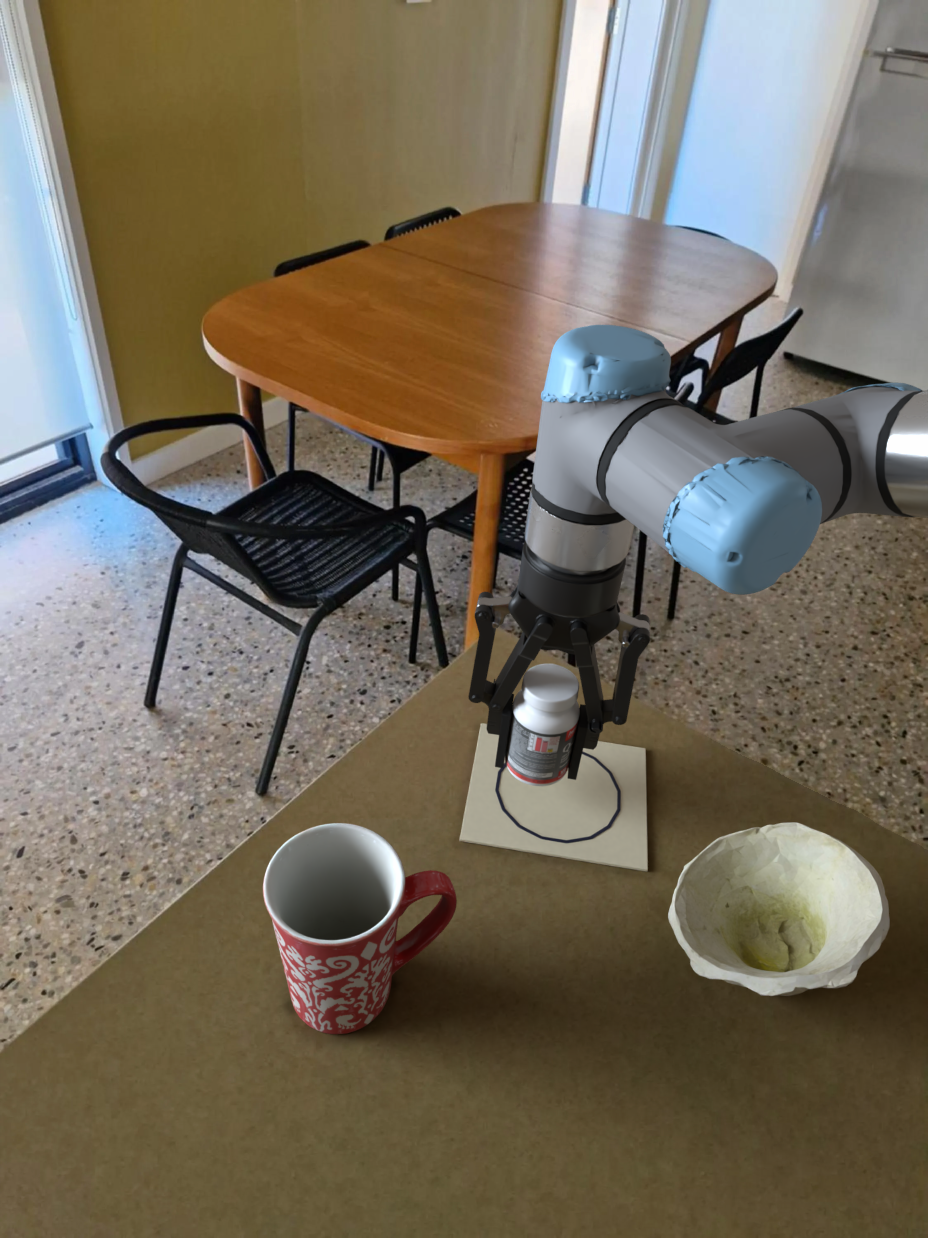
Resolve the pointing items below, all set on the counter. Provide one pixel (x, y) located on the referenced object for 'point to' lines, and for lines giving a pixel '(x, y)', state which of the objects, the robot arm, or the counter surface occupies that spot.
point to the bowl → (779, 910)
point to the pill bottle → (543, 725)
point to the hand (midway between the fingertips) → (536, 761)
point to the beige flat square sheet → (563, 807)
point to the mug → (346, 921)
